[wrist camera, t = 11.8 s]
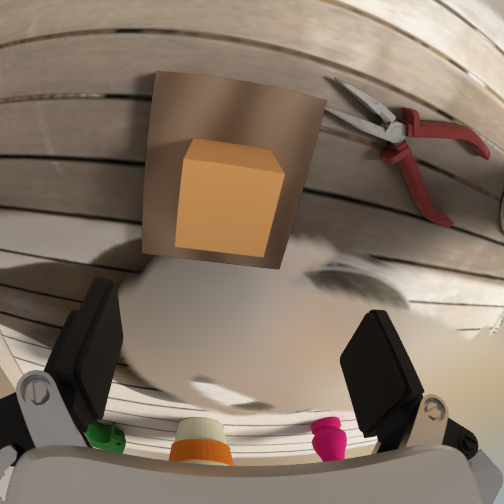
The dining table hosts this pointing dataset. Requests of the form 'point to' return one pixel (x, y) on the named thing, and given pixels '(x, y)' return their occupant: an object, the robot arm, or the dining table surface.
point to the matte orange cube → (227, 198)
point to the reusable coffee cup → (201, 443)
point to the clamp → (106, 438)
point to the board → (229, 131)
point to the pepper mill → (329, 439)
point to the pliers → (401, 150)
